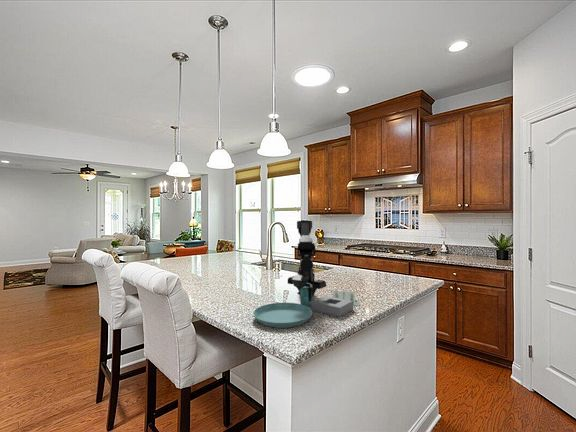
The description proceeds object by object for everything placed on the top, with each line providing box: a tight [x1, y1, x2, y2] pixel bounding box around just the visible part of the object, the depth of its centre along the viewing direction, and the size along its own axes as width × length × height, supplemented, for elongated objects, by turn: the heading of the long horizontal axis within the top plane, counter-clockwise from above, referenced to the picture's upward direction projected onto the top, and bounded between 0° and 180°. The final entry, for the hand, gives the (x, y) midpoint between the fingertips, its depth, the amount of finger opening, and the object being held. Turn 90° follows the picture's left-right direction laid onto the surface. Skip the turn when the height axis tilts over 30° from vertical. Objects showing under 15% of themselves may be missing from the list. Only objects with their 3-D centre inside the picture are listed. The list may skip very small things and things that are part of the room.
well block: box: [311, 295, 354, 318], centre depth 132 cm, size 14×12×4 cm
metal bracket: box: [331, 289, 361, 307], centre depth 145 cm, size 14×6×15 cm
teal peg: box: [300, 286, 313, 307], centre depth 141 cm, size 4×4×8 cm
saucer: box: [253, 302, 314, 329], centre depth 123 cm, size 24×24×3 cm
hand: (306, 300), depth 141 cm, fingers closed on teal peg, 4 cm apart
